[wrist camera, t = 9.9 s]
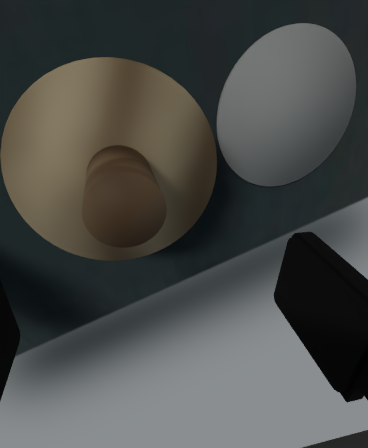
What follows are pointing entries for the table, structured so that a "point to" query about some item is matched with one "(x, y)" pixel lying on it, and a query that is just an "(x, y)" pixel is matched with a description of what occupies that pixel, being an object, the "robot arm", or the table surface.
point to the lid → (108, 159)
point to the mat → (286, 104)
